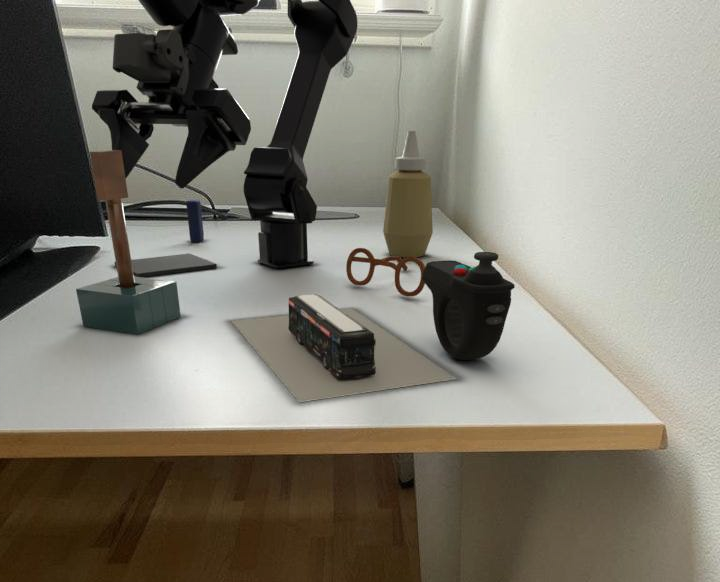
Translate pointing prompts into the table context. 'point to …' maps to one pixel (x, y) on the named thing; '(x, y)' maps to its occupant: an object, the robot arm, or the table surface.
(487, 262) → the controller
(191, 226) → the eraser
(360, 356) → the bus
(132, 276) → the brown rod with block
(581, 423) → the table surface
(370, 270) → the glasses
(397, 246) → the squeeze bottle
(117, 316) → the holder
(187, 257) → the mat
